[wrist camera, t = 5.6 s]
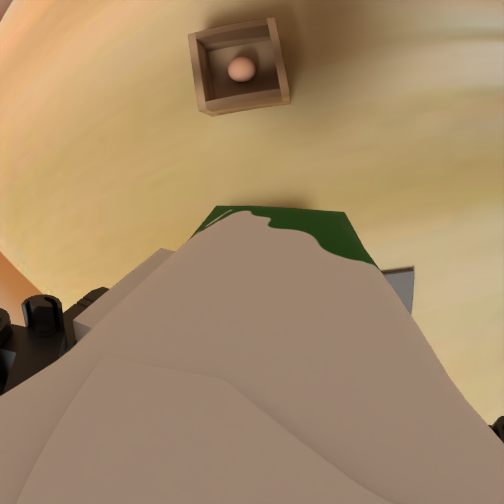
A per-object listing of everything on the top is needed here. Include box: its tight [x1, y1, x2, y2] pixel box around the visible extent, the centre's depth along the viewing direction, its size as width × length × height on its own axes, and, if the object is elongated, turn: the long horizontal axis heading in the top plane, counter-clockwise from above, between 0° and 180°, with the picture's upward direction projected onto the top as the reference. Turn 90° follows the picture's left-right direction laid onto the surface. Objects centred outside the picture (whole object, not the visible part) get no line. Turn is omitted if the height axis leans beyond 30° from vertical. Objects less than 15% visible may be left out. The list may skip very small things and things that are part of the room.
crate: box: [188, 17, 290, 117], centre depth 28 cm, size 9×9×6 cm
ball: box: [228, 57, 256, 82], centre depth 28 cm, size 3×3×3 cm
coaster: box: [383, 269, 414, 315], centre depth 38 cm, size 12×12×1 cm
